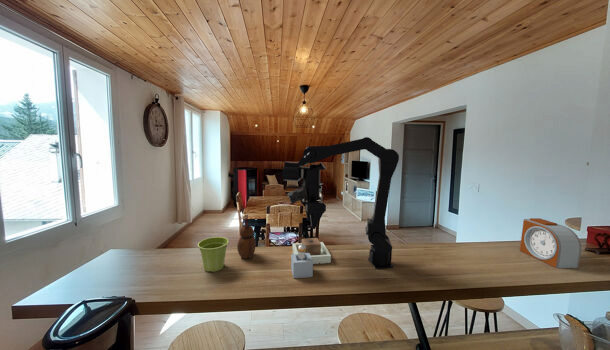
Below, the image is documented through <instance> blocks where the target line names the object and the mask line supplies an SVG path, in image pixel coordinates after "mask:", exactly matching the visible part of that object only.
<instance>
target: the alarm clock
mask: <svg viewBox="0 0 610 350" xmlns="http://www.w3.org/2000/svg"><path fill="white" fill-rule="evenodd" d="M519 246H520V247H519V251H520V252H522V253H524V254H526V255H528V256H530V257H533V258H534V259H537V260H538V261H541V262H543V263H545V264H547V265H549V266H551V267H553V268H556V269H579V267H580V261H581V255H582V242H581V239H580V238H579V236H578V235H577V234H576V232H574V231H573V230H572V229H571V228H569V227H567V226H565V225H561V224H558V223H556V222H553V221H550V220H546V219H543V218H537V217H536V218H535V217H534V218H533V217H530V218H524V219H523V223H522V231H521V237H520V245H519Z"/></svg>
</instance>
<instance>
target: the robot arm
mask: <svg viewBox="0 0 610 350" xmlns="http://www.w3.org/2000/svg"><path fill="white" fill-rule="evenodd" d="M362 150H366V151H367V152H369V153H370V154H372V155H373V156H375V157H376V158H377V160H378V161H377V162H378V163H377V164H378V181H377V187H376V193H375V201H374V205H373V207H374V208H373V213H372V216H371V218H369V217H367V218H366V221H367V222H366V225H365V226H366V227H365V235H367V240H368V242H369V243H370V249H369V252H368V253H369V255H368V262H369V263H370V264H372V266H373V267H374V268H375V269H388V268H389V269H390V268H394V264H392V258H393V257H392V255H393V245H392V242H391V240H390V237H389V236H388V235H387V232H386V231H387V230H386V229H387V226H386V213H387V207H388V201H389V194H390V189H391V183H392V178H393V175H394V174H395V171H396V169H397V167H398V164H399V160H400V155H399V153H398V152H397V150H395V149H393V148H386V147H385V146H382V145H381V144H379V143H377V142H376V141H374V140H372V138H370V137H368V136H366V137H365V136H364V137H363V138H359V139H355V140H350V141H345V142H340V143H335V144H331V145H313V146H312V145H311V146H307V147H306V148H304V150H303V152H302V157H301V158H300V160H299V161H298V162H292V161H285V162H284V163H283V167H282V171H281V172H282V173H281V176H282V180H283V181H286V182H287V181H288V182H300V180H302V179H303V183H302V185H301V188H298V189H295V190H292V191H290V192H287V197H288V199H289V202H290V203H291V204H296V203H297V202H299V203H301V204H302V206H304V210H305V215H306V220H307V221H308V222H310V224H311V229H312V230H315V229H316V228H317V227H318V225H319V222H320V220H321V218H322V217H323V215H324V214H325V212H327V205H326V204H325V203H324V202H323V201H322V197H321V191H320V190H321V189H322V185H321V171H324V170H326V169H327V167H326V166H325V165H324V163H323V162H320V161H322V160H325V159H327V158H330V157H333V156H338V155H341V154H349V153H353V152H358V151H362ZM318 162H320V163H319V164H315V163H318ZM309 164H310V165H309ZM306 165H309V166H306Z"/></svg>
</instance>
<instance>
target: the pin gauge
mask: <svg viewBox="0 0 610 350" xmlns="http://www.w3.org/2000/svg"><path fill="white" fill-rule="evenodd" d="M305 251H306V247H305V245H304V244H300V245H299V247H298V261H300V260H305Z"/></svg>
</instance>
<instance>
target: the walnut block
mask: <svg viewBox="0 0 610 350" xmlns="http://www.w3.org/2000/svg"><path fill="white" fill-rule="evenodd" d="M320 242H321V241H319V239H318V237H312V238H311V237H310V238H309V237H308V238H307V237H306V238H301V243H302V244H304V245H305V247H306V251H305V253H310V256H312V255H321V244H320Z"/></svg>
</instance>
